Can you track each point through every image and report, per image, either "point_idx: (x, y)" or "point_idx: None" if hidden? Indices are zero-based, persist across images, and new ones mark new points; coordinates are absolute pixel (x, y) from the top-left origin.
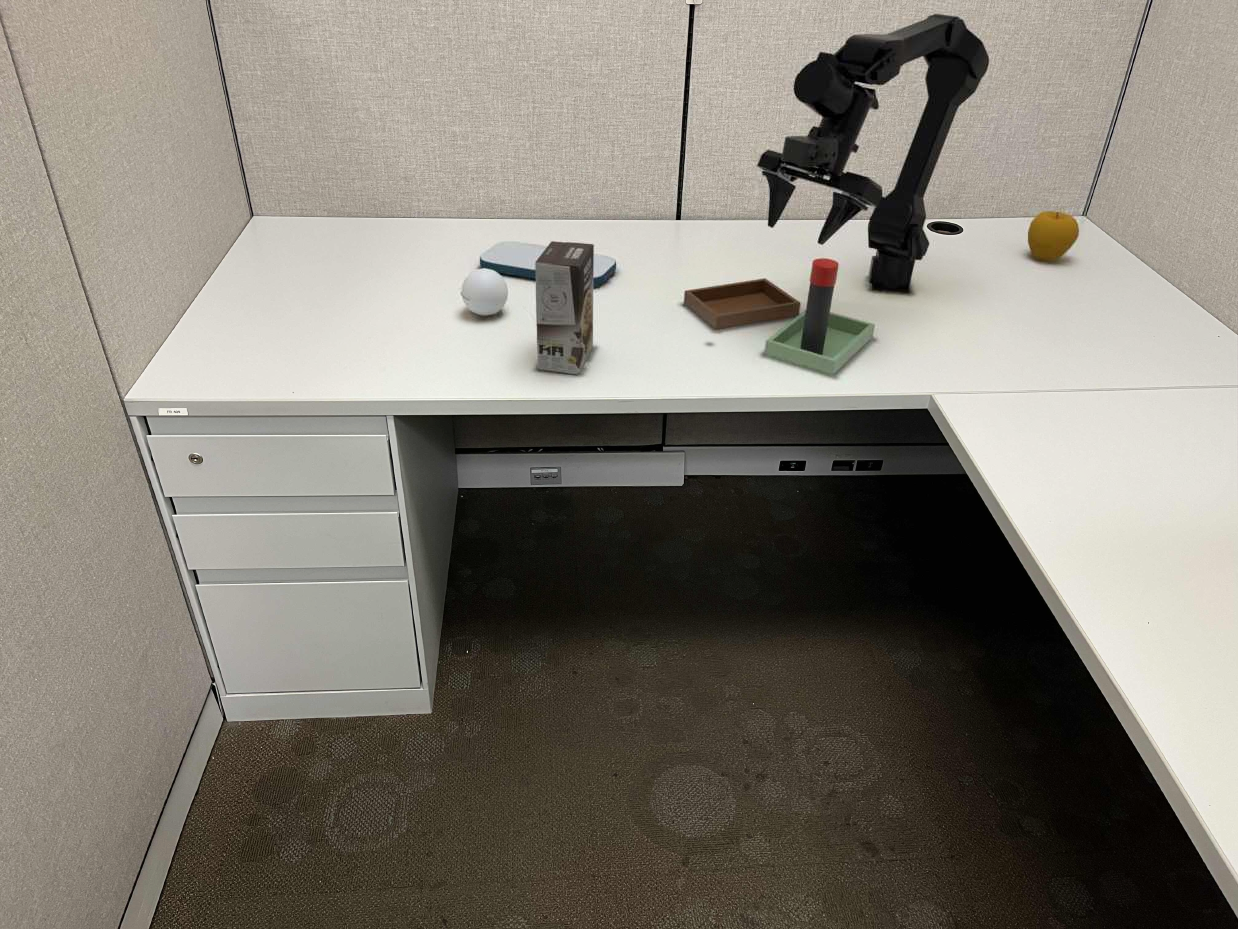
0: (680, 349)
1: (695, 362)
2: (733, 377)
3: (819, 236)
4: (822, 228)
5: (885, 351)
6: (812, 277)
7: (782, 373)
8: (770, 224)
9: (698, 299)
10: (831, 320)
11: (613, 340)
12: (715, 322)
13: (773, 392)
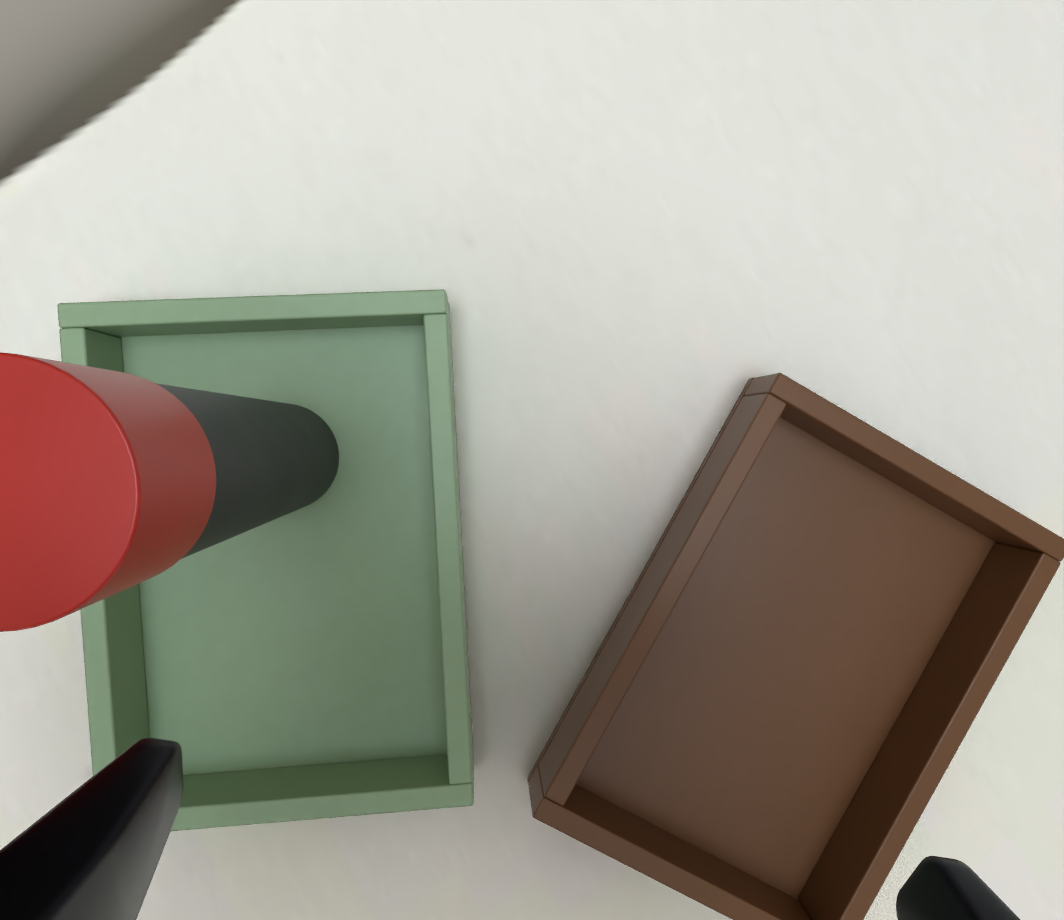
0: (773, 121)
1: (653, 53)
2: (448, 34)
3: (130, 790)
4: (58, 898)
5: (27, 717)
6: (138, 382)
7: (297, 206)
8: (936, 875)
9: (959, 494)
10: (336, 778)
11: (1048, 8)
12: (769, 375)
13: (239, 20)
